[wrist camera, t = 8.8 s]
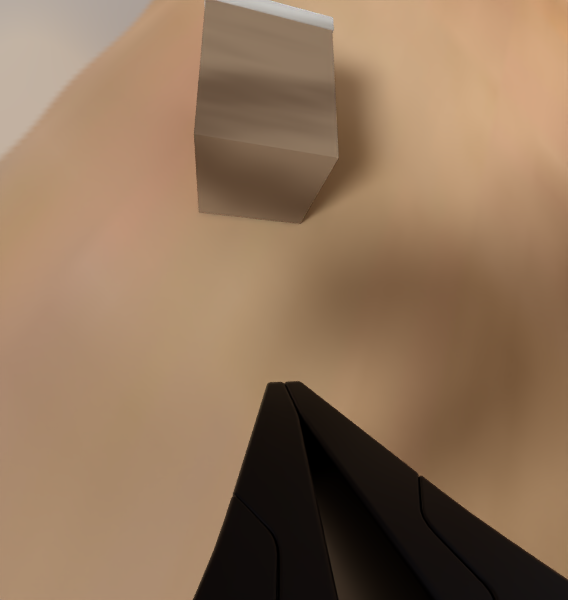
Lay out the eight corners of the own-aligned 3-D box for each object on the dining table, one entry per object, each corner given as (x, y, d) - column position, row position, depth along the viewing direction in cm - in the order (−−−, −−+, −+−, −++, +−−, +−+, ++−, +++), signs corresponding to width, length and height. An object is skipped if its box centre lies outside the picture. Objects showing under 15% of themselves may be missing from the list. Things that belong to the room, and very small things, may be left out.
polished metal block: (340, 157, 13) (332, 17, 15) (192, 132, 12) (205, -17, 14) (300, 224, 19) (299, 115, 21) (197, 212, 18) (206, 98, 20)
